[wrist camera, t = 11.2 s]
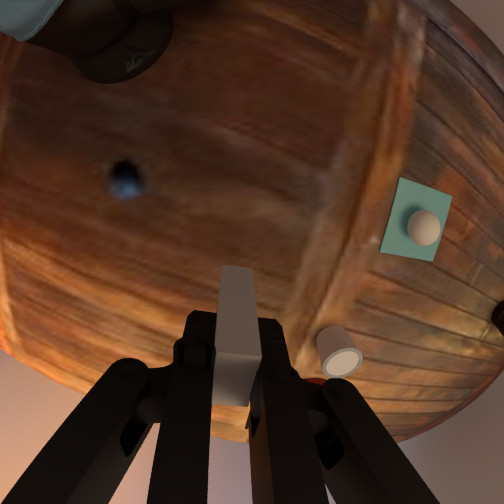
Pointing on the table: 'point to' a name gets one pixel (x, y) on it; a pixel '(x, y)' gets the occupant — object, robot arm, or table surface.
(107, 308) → the table surface
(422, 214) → the ball
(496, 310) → the coffee mug
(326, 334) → the white cylinder
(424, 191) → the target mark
